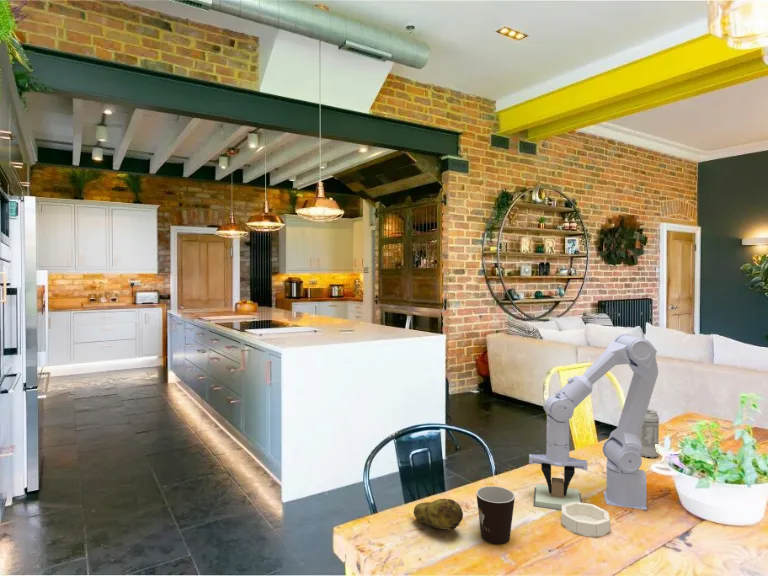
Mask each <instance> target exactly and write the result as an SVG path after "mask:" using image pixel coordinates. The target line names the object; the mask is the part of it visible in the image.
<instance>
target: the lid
mask: <svg viewBox="0 0 768 576" xmlns="http://www.w3.org/2000/svg"><path fill="white" fill-rule="evenodd" d="M551 484H552V494H551V493H549V489H548V484H542V483H541V484H539V483H536V485H535V487H536V499H535V506H541V507H548V508H555V509H562V505H565V504H568V503H572V502H580V496H579V493H580V490H579V488H571V487H568V489H567V494H566V495H564V478H559V477H552V476H551Z"/></svg>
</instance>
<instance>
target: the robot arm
mask: <svg viewBox="0 0 768 576" xmlns="http://www.w3.org/2000/svg"><path fill="white" fill-rule="evenodd" d="M657 351H658V350H657V349H656V348H655V346H654V345H653V344H652V342H650V340H649V339H646V338H645V337H644V338H642V337H637V336H634V335H631V334H629V333H628V334H627V333H625V334H624V333H623V334H622V333H621V334H620V335H618V336H616V338H615V339H614V340H612V341H611V342H610V343H608V346H607V347H606V349H605V350H604V351H603V352H602V353H601V354H600V355H599V356H598V357H597V359H596V360H595V361H594V362H593V363H592V364H591V365H590V367H589V368H588V369H586V371H585V372H584V373H582V375H574V376H573V377H569V378H568V379H567V380H566V381H567V383H565V385H564V386H563V387H562V388H560V390H557V391H555V392H554V395H551V396H548V397H547V398H546V400H545V402H544V404H543V410H544V411H545V414H546V453H545V454H531V453H530V454H529V455H528V464H529V465H534V464H537V465H541V467H540V469H541V471H542V473H543V476H544V479H545V481H546V483H547V484H546V485H548V489H549V493H551V494H552V466H554V467H558V468H559V467H560V468H561V467H563V471H564V472H563V479H564V495H566V494H567V489H568V488H569V485H570V483H571V481H572V479H573V477H574V476H575V473H576V471H575V469H579V470H580V469H581V470H583V471H588V460H586V459H580V458H577V457H575V458H574V457H571V456H570V419H572V418H573V415H574V410H575V409H576V408H577V407H578V406H579V405H580V404H581V403H582V402H583V401H584V400H585V399H586V398H588V396H589V395H590V394H591V393H593V386H594V384H596V383H597V381H599V380H601V378H602V377H603V376H605V375H606V374H607V373H608V372H610V370H612V369H613V368H614V367H615V366H618V365H620V366H621V365H628V366H629V367H630V369H631V370H632V373H633V374H632V378H631V382H630V385H629V388H628V391H627V393H626V398H625V401H624V405H623V408H622V410H621V414H620V418H619V421H618V424H617V427H616V428H615V429H613V430H612V431H611V432H610V435H609V437H608V438H607V440H605V442H604V443H603V446H602V453H603V455H604V457H605V458H606V460H607V461H606V483H605V484H606V485H605V486H606V490H604V491H603V496H604V500H605V503H606V505H608V506H614V507H619V508H620V507H622V508H630V509H635V510H643V511H647V510H648V508H647V502H648V501H647V498H648V497H647V496H648V495H647V490H648V489H647V487H648V486H647V483H648V481H647V474H646V472H645V470H642V469H640V468H641V465H642V462H643V460H642V456H641V450H642V445H641V442H640V439H639V435H640V431H641V428H642V425H643V422H644V418H645V415H646V412H647V409H649V408H648V407H649V405H650V402H651V399H652V395H653V392H654V388H655V386H656V382H657V379H658V376H659V367H658V363H657V358H656V355H657Z"/></svg>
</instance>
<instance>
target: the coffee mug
mask: <svg viewBox="0 0 768 576" xmlns="http://www.w3.org/2000/svg"><path fill="white" fill-rule="evenodd" d="M475 494H476V501H477V502H476V503H477V509H478V512H477V513H478V518H479V521H478V522H479V529H480V536H481V539H482V541H484V542H486V543H488V544H491V545H497V546H500V545H501V546H502V545H506V544H507V543H509V542H510V540H511V532H512V531H511V530H512V523H513V515H514V507H515V500H516V495H515V493H514V492H513V491H511V489H508V488H505V487H502V486H497V485H496V486H495V485H488V486H483V487H480V488H478V489H477V490H476V492H475Z"/></svg>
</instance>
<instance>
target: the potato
mask: <svg viewBox="0 0 768 576" xmlns="http://www.w3.org/2000/svg"><path fill="white" fill-rule="evenodd" d="M461 507H462V506H461V505H460V504H459V503H458V502H456V501H455V500H453V499H451V498H438V499H436V500H432V501H431V502H430V501H427V502H426V501H425V502H420V503H418V504H416V505H415V506H414V508H413V516H414V518H415V519H416V520H417V521H418V522H419V523H421V524H426V525H428V526H430V527H432V528H433V529H440V530H442V529H443V530H444V529H448V530H449V531H453V530H455V529H457V527H458V526H460V524H461V522H462V521H463V518H464V512H463V509H462V508H461Z"/></svg>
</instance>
